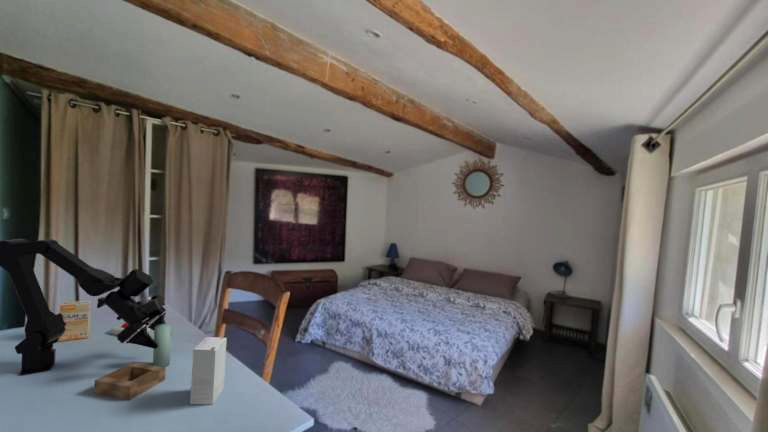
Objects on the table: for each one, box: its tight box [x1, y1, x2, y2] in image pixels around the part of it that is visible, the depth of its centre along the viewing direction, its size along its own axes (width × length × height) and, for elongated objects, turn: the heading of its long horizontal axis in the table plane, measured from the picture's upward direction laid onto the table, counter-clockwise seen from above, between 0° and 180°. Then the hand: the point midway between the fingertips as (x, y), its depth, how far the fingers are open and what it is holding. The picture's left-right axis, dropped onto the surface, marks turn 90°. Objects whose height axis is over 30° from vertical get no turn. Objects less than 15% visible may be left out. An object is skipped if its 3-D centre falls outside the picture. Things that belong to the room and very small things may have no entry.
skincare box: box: [189, 336, 228, 405], centre depth 93 cm, size 8×6×15 cm
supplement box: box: [57, 299, 92, 343], centre depth 126 cm, size 8×5×13 cm, turn 123°
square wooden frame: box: [93, 362, 166, 401], centre depth 96 cm, size 11×11×4 cm
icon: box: [109, 322, 152, 336], centre depth 134 cm, size 12×4×10 cm
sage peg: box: [152, 323, 172, 369], centre depth 109 cm, size 4×4×12 cm
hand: (163, 341), depth 109 cm, fingers open, 9 cm apart
